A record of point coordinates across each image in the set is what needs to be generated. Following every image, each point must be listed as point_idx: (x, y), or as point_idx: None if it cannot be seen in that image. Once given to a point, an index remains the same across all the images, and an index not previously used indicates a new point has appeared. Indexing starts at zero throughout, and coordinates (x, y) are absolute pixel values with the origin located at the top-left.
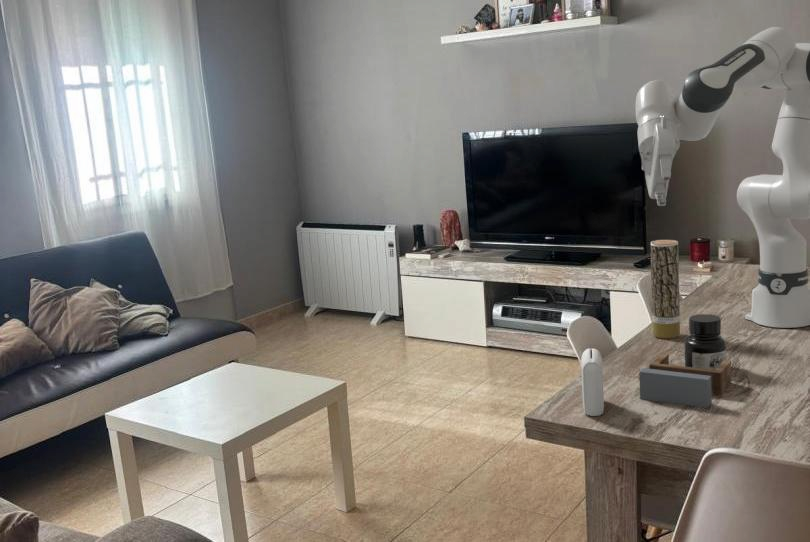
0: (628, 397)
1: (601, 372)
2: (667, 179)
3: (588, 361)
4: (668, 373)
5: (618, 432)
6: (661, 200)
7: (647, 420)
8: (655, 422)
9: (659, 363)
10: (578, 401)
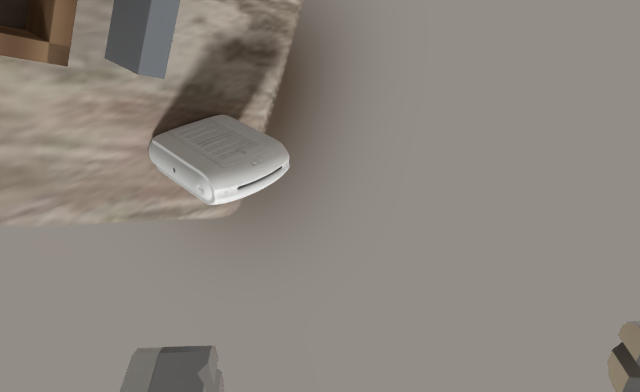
0: (126, 89)
1: (271, 138)
2: (627, 332)
3: (288, 167)
4: (167, 7)
5: (276, 72)
6: (217, 387)
7: (232, 32)
8: (238, 17)
9: (38, 40)
10: (164, 175)
